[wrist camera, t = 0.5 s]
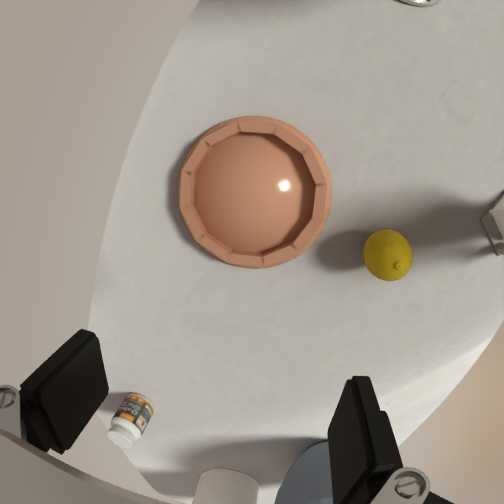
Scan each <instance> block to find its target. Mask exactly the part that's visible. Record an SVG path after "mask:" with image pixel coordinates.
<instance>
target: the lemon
mask: <svg viewBox="0 0 504 504" xmlns="http://www.w3.org/2000/svg"><path fill="white" fill-rule="evenodd" d="M363 257H364V262H365V264H366V266H367V268H368V270H369V271H370V272H371V273H372V274H373V275H374V276H376V277H377V278H379V279H382V280H385V281H395V280H399V279H400V278H402V277H404V276H405V275H406V274H407V273H408V271H409V270H410V268H411V265H412V261H413V253H412V249H411V246H410V244H409V243H408V241H407V239H406V238H405V237H404V236H403V235H401V234H400V233H398V232H396V231H394V230H389V229H383V230H379V231H376V232H375V233H373V234H372V235H371V236H370V237H369V238H368V239H367V241H366V243H365V245H364V249H363Z"/></svg>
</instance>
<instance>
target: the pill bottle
mask: <svg viewBox="0 0 504 504" xmlns="http://www.w3.org/2000/svg"><path fill="white" fill-rule="evenodd" d="M153 412H154V408H153V405H152V403H151V402H150V401H149V400H148V399H147V398H145V397H144V396H142V395H140V394H136V393H132V394H129V395H128V396H127V397H126V398H125V400H124V401H123V403H122V404H121V406H120V407H119V409H118V410H117V412H116V413H115V415H114V416H113V418H112V420H111V426H112V427H111V428H110V429H109V431H108V432H107V435H108V438H109V439H110V440H111V441H112V442H113V443H114V444H116V445H117V446H119V447H122V448H125V449H130V448H132V446H133V445H134V442H135V441H134V440H138V439H139V438H140V437H141V436H142V434H143V432H144V430H145V428H146V426H147V424H148V422H149V420H150V418H151V416H152V414H153Z"/></svg>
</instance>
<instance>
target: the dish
mask: <svg viewBox="0 0 504 504" xmlns="http://www.w3.org/2000/svg"><path fill="white" fill-rule="evenodd" d="M331 196H332V189H331V180H330V175H329V171H328V168H327V166H326V163H325V161H324V159H323V157H322V155H321V153H320V152H319V150H318V149H317V148H316V146H315V145H314V144H313V142H312V141H311V140H310V139H309V138H308V137H307V136H306V135H304V134H303V133H302V132H301V131H299V130H298V129H296V128H295V127H293V126H291V125H290V124H287V123H285V122H283V121H280V120H277V119H274V118H270V117H263V116H245V117H238V118H234V119H230V120H227V121H225V122H223V123H220V124H218V125H217V126H215V127H213V128H212V129H210V130H209V131H207V132H206V133H205V134H204V135H202V136H201V137H200V138H199V139H198V140H197V142H196V143H195V144H194V145H193V147H192V148H191V149H190V151H189V152H188V154H187V156H186V158H185V160H184V162H183V165H182V167H181V171H180V175H179V180H178V203H179V209H180V212H181V216H182V218H183V221H184V223H185V225H186V227H187V229H188V231H189V232H190V234H191V235H192V237H193V238H194V239H195V241H196V242H197V243H198V244H199V245H200V246H201V247H202V248H203V249H204V250H205V251H207V252H208V253H209V254H211V255H212V256H214V257H215V258H217V259H219V260H221V261H223V262H225V263H227V264H231V265H234V266H237V267H243V268H253V269H259V268H268V267H273V266H277V265H280V264H283V263H286V262H288V261H290V260H292V259H294V258H295V257H297V256H298V255H300V254H301V253H303V252H304V251H305V250H306V249H307V248H308V247H309V246H310V245H311V244H312V243H313V242H314V241H315V240H316V238H317V237H318V235H319V234H320V232H321V231H322V229H323V227H324V225H325V223H326V220H327V217H328V214H329V211H330V206H331Z"/></svg>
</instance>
